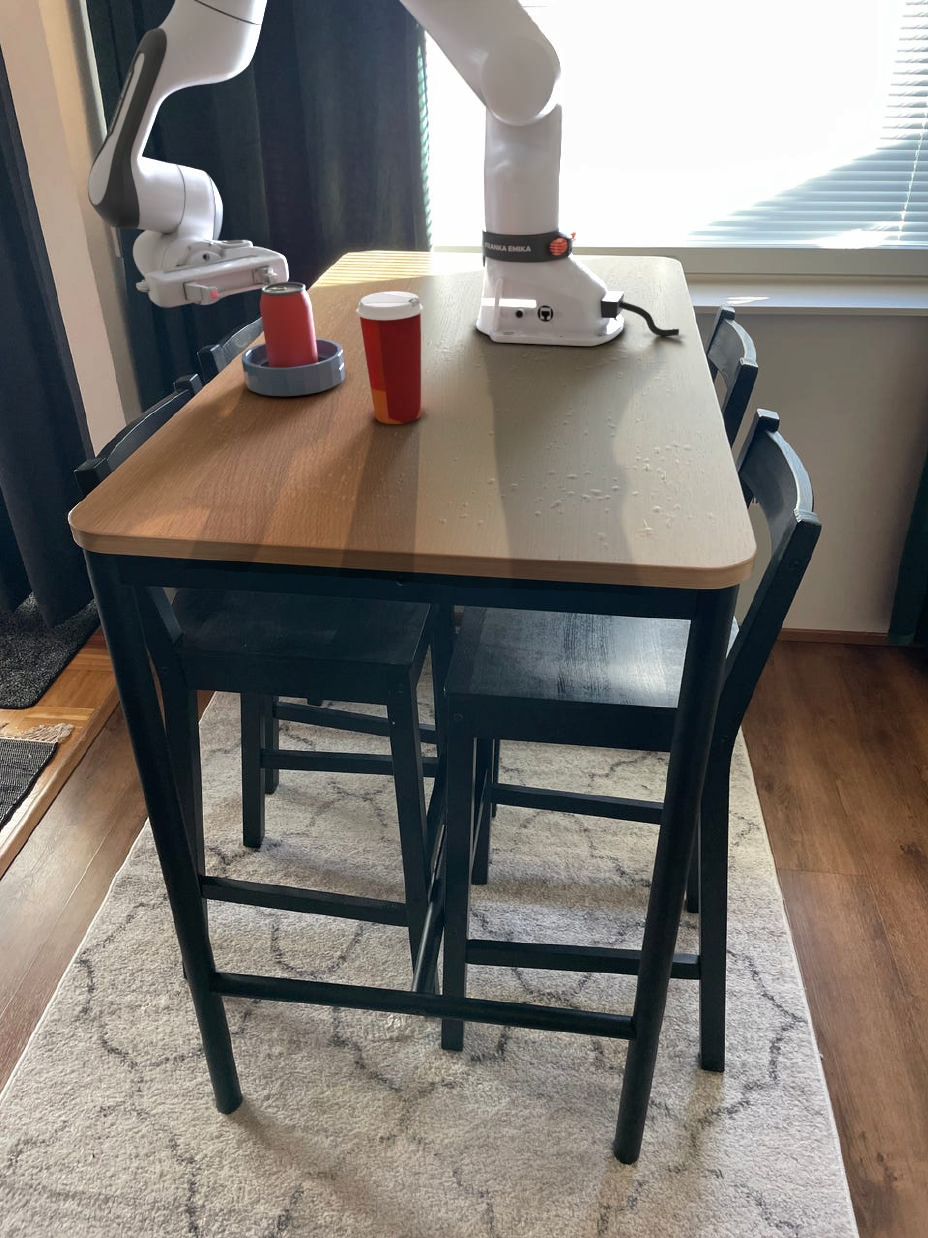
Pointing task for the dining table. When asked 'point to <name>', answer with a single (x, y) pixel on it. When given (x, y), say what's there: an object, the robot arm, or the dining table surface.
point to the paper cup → (393, 354)
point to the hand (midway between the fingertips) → (244, 288)
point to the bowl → (294, 371)
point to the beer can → (288, 325)
